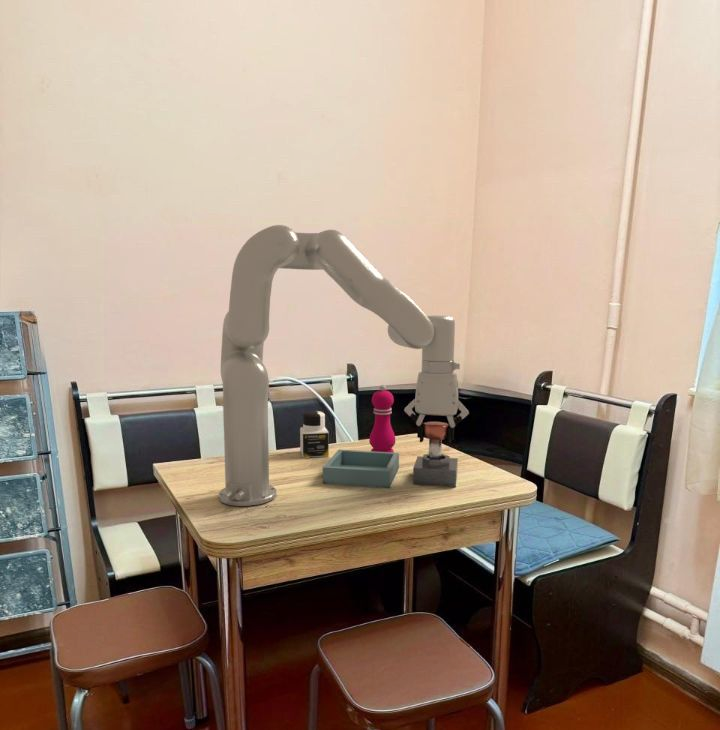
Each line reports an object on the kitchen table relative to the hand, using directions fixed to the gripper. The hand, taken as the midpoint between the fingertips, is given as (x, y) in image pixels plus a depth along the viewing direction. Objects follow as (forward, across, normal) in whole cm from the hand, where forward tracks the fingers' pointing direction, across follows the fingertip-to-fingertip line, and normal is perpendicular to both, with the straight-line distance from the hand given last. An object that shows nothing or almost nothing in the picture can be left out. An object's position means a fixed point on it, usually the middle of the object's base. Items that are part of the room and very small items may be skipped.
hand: (435, 441), depth 140 cm
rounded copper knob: (+7, 0, 0) cm, 7 cm away
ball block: (+9, 0, 0) cm, 9 cm away
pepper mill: (+10, +16, -17) cm, 25 cm away
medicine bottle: (+10, +35, -15) cm, 39 cm away
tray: (+10, +18, +1) cm, 20 cm away
